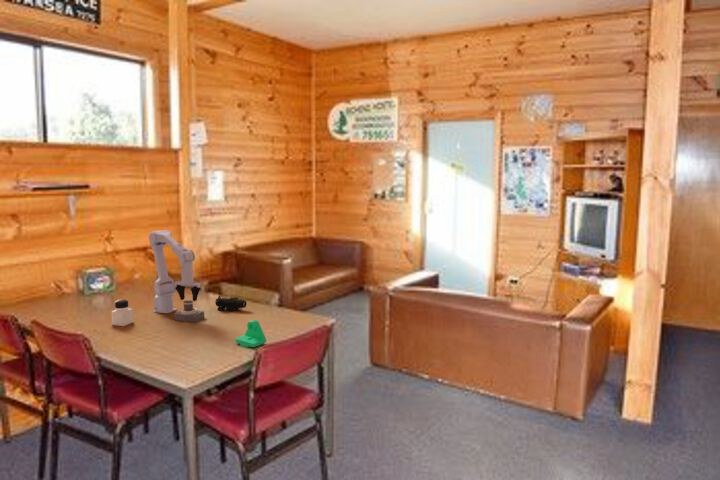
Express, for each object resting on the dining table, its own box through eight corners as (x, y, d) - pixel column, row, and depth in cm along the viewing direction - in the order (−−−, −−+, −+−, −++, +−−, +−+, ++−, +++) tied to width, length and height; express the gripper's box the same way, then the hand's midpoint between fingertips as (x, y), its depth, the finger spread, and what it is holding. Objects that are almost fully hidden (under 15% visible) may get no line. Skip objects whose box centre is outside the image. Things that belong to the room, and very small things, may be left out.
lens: (182, 313, 264) (181, 301, 263) (188, 311, 268) (188, 299, 267) (188, 314, 262) (187, 302, 261) (195, 312, 266) (194, 300, 265)
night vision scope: (246, 315, 280) (237, 307, 272) (217, 313, 286) (208, 305, 278) (250, 302, 284) (242, 294, 276) (222, 300, 290) (213, 292, 282)
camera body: (174, 320, 264) (174, 310, 264) (184, 315, 272) (184, 306, 271) (194, 322, 261) (194, 312, 260) (204, 317, 268) (203, 308, 267)
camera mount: (234, 344, 229) (233, 321, 228) (247, 339, 236) (246, 317, 234) (253, 349, 223) (252, 326, 221) (266, 344, 229) (265, 322, 227)
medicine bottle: (133, 322, 261) (132, 299, 259) (123, 326, 255) (121, 302, 253) (122, 320, 264) (121, 298, 262) (111, 325, 257) (110, 301, 255)
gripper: (170, 274, 262) (171, 300, 264) (194, 276, 257) (195, 303, 259) (179, 272, 268) (180, 297, 270) (203, 274, 264) (204, 299, 266)
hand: (188, 300), depth 265 cm, fingers open, 7 cm apart
